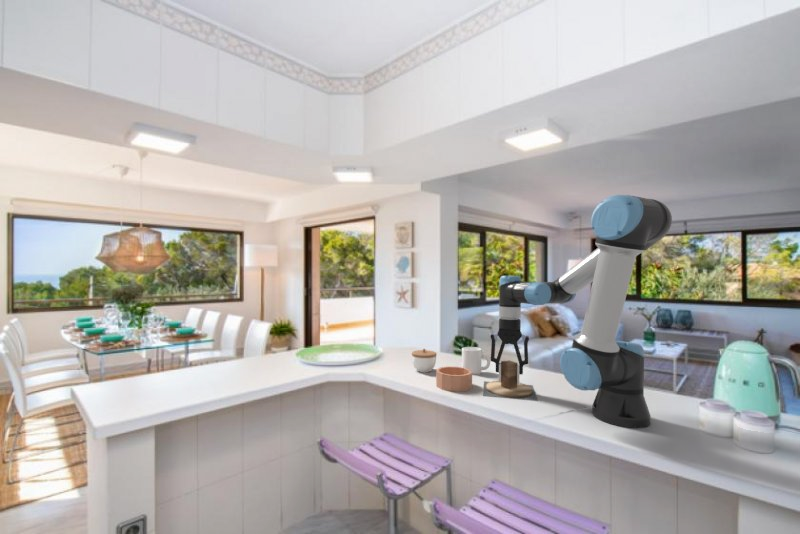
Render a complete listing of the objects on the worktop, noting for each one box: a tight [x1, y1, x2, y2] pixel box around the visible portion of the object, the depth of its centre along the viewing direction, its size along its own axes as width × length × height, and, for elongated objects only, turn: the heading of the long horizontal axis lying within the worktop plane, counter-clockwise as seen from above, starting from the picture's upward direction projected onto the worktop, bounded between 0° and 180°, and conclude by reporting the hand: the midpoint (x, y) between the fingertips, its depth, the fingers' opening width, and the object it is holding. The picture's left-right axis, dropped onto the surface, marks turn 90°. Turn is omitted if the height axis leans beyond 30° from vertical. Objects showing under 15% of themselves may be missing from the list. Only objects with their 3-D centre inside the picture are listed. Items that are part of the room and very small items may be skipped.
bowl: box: [435, 365, 473, 392], centre depth 141 cm, size 13×13×6 cm
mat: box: [482, 380, 539, 402], centre depth 136 cm, size 18×18×1 cm
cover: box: [486, 360, 532, 398], centre depth 136 cm, size 16×16×10 cm
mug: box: [461, 346, 491, 375], centre depth 161 cm, size 12×8×10 cm
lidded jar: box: [411, 348, 437, 373], centre depth 164 cm, size 11×11×9 cm
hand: (509, 382), depth 136 cm, fingers closed on cover, 6 cm apart
